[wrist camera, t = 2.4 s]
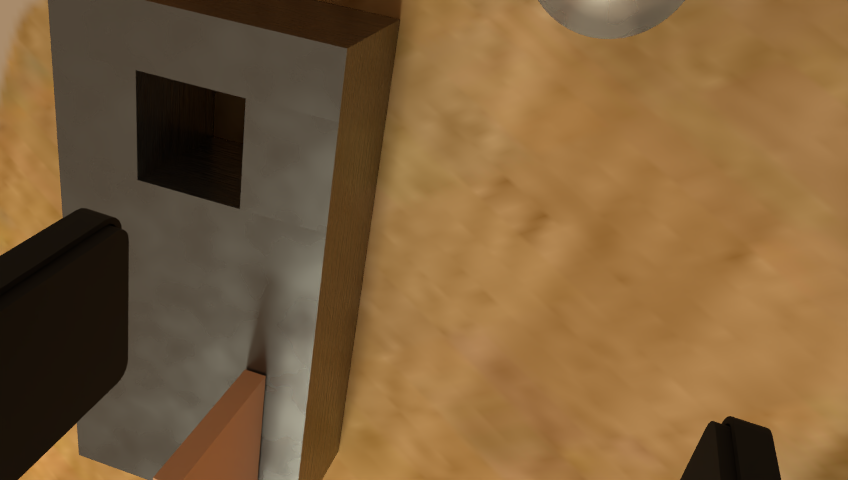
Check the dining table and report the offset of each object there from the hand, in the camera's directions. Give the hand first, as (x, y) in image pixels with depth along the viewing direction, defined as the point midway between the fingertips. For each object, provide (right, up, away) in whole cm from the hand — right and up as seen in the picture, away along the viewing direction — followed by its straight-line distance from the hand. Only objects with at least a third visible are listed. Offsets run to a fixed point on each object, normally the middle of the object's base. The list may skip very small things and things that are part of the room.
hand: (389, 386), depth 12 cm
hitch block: (-8, +2, +27) cm, 28 cm away
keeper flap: (-9, -8, +21) cm, 24 cm away
